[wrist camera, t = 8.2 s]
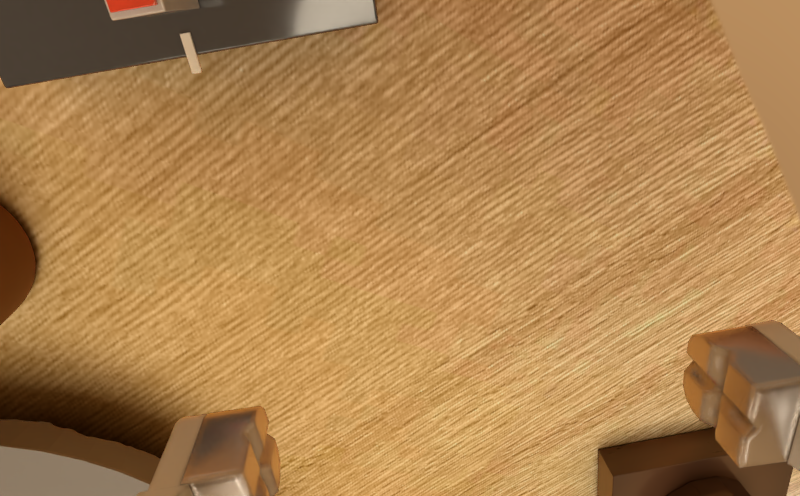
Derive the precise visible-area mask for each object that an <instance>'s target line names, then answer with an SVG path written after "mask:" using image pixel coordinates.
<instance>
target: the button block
mask: <svg viewBox="0 0 800 496" xmlns="http://www.w3.org/2000/svg"><path fill="white" fill-rule="evenodd" d="M715 433H716V428H711V429H706V430H700V431H695V432H690V433H684V434H679V435H674V436H668V437H663V438H658V439H653V440H647V441H642V442H637V443H631V444H626V445H621V446H615V447H610V448H605V449H600V450H598V496H786V494H787V490H788V486H789V482H790V478H791V474H792V470H793V467H792V466H791V465H789V464H787V463H788V461H785V462H778V463H771V464H764V465H757V466H749V467H742V468H739V467H738V466H737V465H736V464H735V462H734V461H733V460H732V459H731V457H730V456H729V455H728V454H727V453H726V451H725V450H724V449H723V448H722V447H721V445H720V444H719V443H718V442H717V441H716V439H715Z"/></svg>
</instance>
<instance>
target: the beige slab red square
mask: <svg viewBox="0 0 800 496" xmlns="http://www.w3.org/2000/svg"><path fill="white" fill-rule="evenodd" d="M104 1H105V3H106V6H107V9H108V12H109V14H110V17H111V19H112V20H114V21H115V20H124V19H133V18H142V17H151V16H159V15H165V14H171V13H177V12H183V11H188V10H194V9H199V3H198V0H104Z"/></svg>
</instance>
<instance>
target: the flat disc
mask: <svg viewBox="0 0 800 496" xmlns="http://www.w3.org/2000/svg"><path fill="white" fill-rule="evenodd" d="M159 462H160V458H158V457H156V456H155V455H152V454H149V453H147V452H145V451H142V450H137V449H135V448H133V447H131V446H125V445H123V444H122V443H119V442H117V441H109V440H104V439H98V438H96V437H87V436H85V435H82V434H80V433H77V432H76V431H75V430H73V429H69V428H60V427H57V426H54V425H52V423H50V422H43V421H38V422H34V421H22V420H18V419H10V420H0V496H136V495H137V494H138V493H139V492H144V491H148V488H149V486H150V484H151V481H152V479H153V476H154V474H155V471H156V469H157V467H158V464H159Z"/></svg>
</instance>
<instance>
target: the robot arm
mask: <svg viewBox="0 0 800 496" xmlns="http://www.w3.org/2000/svg"><path fill="white" fill-rule="evenodd" d="M687 353H688V355H689V356H690V357H691V358H692V359H693V361H692V362H691V364H690V365H689V366H688V367H687V368H686V370H685V371H684V379H683V387H684V391H685V395H686V399H687V401H688V403H689V405H690V407H691V409H692V411H693V412H694V413H695V414H696V416H697V417H698V418H699V420H700V421H702V422H704V423H706V424H708V425H710V426H713V427H715V428H716V433H715V439H716V441H717V442H718V443H719V444H720V445H721V447H722V448H723V449H724V450H725V451H726V453H727V454H728V455H729V456H730V457H731V459H732V460H733V461H734V462H735V464H736V465H737V466H738V467H739V468H742V467H749V466H757V465H764V464H771V463H778V462H785V461H788V463H787V464H789V465H791V466H792V467H794V468H796V469H797V470H799V471H800V337H799V336H798V335H796V334H795V333H794V332H792V331H791V330H790V329H788V328H787V327H786V326H785V325H783V324H782V323H780V322H776V321H773V320H771V321H765V322H760V323H755V324H749V325H745V326H741V327H735V328H729V329H724V330H718V331H712V332H706V333H700V334H694V335H692V336H691V338H690V340H689V341H688V347H687ZM268 424H269V420H268V417H267V415H266V412H265V409H264V408H263V407H261V406H256V407H248V408H241V409H234V410H227V411H220V412H213V413H208V414H202V415H195V416H188V417H182V418H180V419H179V420H178V421H177V422H176V423H175V425H174V428H173V430H172V433H171V435H170V438H169V440H168V442H167V445H166V447H165V450H164V452H163V454H162V457H161V459H160V462H159V464H158V467H157V469H156V471H155V474H154V476H153V479H152V481H151V484H150V486H149V488H148V491H144V492H139V493H138V494H137V495H136V496H275V494H276V493H277V492H278V491H279V484H280V457H279V452H278V447H277V444H276V441H275V439H274V438H273V437H271V436H270V435H268V434H267V429H268Z"/></svg>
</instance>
